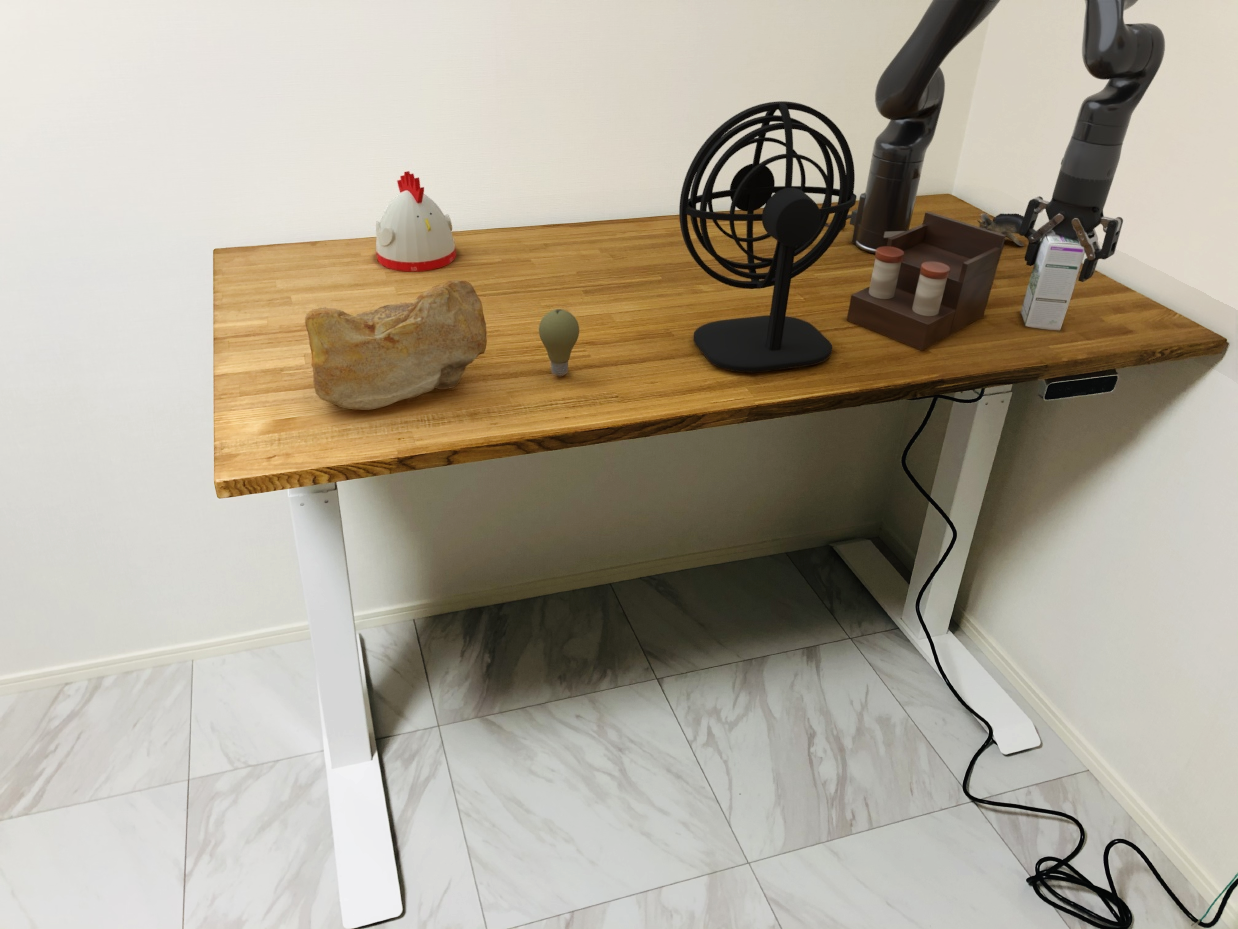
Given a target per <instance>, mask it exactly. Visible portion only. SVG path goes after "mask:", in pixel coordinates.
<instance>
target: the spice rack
mask: <svg viewBox="0 0 1238 929" xmlns="http://www.w3.org/2000/svg"><path fill="white" fill-rule="evenodd" d="M1006 238H1007V237H1006V235H1003V234H1000V233H997V232H994V231H990V230H987V229H984V228H980V226H977V225H973V224H970V223H967V222H963V221H961V220H958V219H954V218H951V217H947V216H944V215H942V214H938V213H934V212H931V211H925V212H924V215H923V220H922V224H920V225H917V226H915V227H912V228H909V230H907V231H905V232H902V233H900V234H897V235H895V236H892V237H890V238H888V243H887V246H883V247H879V248H877V249H876V254H874V255H875V256H874V264H873V268H872V269H873V270H872V274H871V279H870V283H869V286H867V287H865V288H862V289H861V290H859V291H856V292H854V293H852V294H851V295H850V301H849V305H848V310H847V311H848V312H847V317H846V321H848V322H850V323H853V324H855V325H858V326H859V327H863V328H864V329H867V330H870V331H872V332H874V333H877V334H879V335H882V336H885V337H887V338H889V339H892V340H894V341H897V342H899V343H902V344H905V345H906V346H909V347H912V348H915V349H917V350H919V351H925V350H926V349H928V348H930V347H932V346H933V345H935V344H937V343H939V342H941V341H942V340H944V339H946V338H948V337H950V336H951V335H953V334H955V333H957V332H959V331H960V330H963V329H964V328H967V326H969V325H972V324H973V323H975V322H977V321H979V320H980V319H982V318H984V317H985V313H986V309H987V306H988V303H989V298H990V294H991V292H992V287H993V284H994V280H995V277H996V273H997V270H998V266H999V263H1000V259H1001V256H1002V252H1003V248H1004V245H1005V241H1006Z"/></svg>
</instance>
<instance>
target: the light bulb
mask: <svg viewBox="0 0 1238 929" xmlns="http://www.w3.org/2000/svg"><path fill="white" fill-rule="evenodd" d="M538 335H539V338H540V340H541V342H542V345H543V346H544V348H545V350H546V352H547V356H548V359H549V361H550V372H551V373H552V374H553V375H555V376H556V377H557V378H561V377H564V376H565V375H566V374H567V373H568V372H569V361H570V358H571V354H572V350H573V348H574V347H575V345H576V344H577V341H578V338H579V337H580V325H579V322H578V320H577V318H576V317H575V315H573V314H572V313H571V311H568V310H565V309H561V308H556V309H551V310H550V311H548V312H546V314H544V315H543V316H542V318H541V319H540V322H539V325H538Z"/></svg>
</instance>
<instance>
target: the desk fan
mask: <svg viewBox="0 0 1238 929" xmlns="http://www.w3.org/2000/svg"><path fill="white" fill-rule="evenodd" d="M777 111H779V113H780V115H779V114H775V113H776V112H777ZM790 111H798V112H801V113H805V114H808V115H811V116H813V117H815V118H816V119H818V120H819V121H820V122H822V123H823V124H824V125H825V126H826V127H827V128H828V129H829V130H830V132H831V133H832V134H833V135H834V137H835V139H836V141H837V143H838V145H839V147H840V150H841V153H842V156H841V154H840V152H839V150H838V149H837V148H836V146H835V144H834V143H833V142H832V141H831V140H830V139H829V138H828V137H827V136H826V135H824V134H823V133H821V132H819V130H817V129H815V128H813V127H810V126H809V125H807V124H806V123H804V122H802V121H800V120H799V119H796V118H794V117H791V114H790ZM763 113H765V114H764V115H761V116H757V115H760V114H763ZM754 116H757V117H754ZM753 117H754V118H753ZM750 118H751V119H750ZM747 119H748V120H747ZM745 120H746V121H745ZM760 124H761V125H760ZM758 125H760V127H758V128H755V129H753V130H751V131H749V132H748V133H746V134H744V135H743V136H742V137H740V138H739V139H737V140H736V141H734V143H733V144H731V145H730V146H729V147H728V148H727V149H726V150H725V151H724V153H722V155H721V156H720V157H719V159H717V161H716V163H715V165H714V166H713V167H712V169H711V171H710V173H709V175H708V177H707V179H706V181H705V184H704V187H703V190H702V192H701V193H702V194H698V193H699V188H700V184H701V182H702V179H703V176H704V174H705V172H706V170H707V168H708V166H709V164H710V163H711V161H712V160H713V159H714V157H715V156H716V154H717V153H718V152H719V151H720V149H721V148H722V147H723V146H724V145H725V144H726V143H727V142H729V141H730V140H731V139H732V138H734V137H735V136H736V135H738V134H740V133H741V132H743V131H745V130H747V129H749V128H751V127H755V126H758ZM779 130H784V140H785V142H784V141H783V140H780V139H778V138H774V137H767V133H770V132H774V131H779ZM793 130H796V131H797V130H798V131H802V132H805V133H808V134H809V135H810V136H811V137H812V138H813V139H814V141H815V142H816V143H817V145H818V148H819V149H820V151H821V153H822V156H823V159H824V162H825V168H826V169H825V170H826V171H825V170H824V169H823V168H822V166H821V165H820V164H818V162H816V161H815V160H813V159H811V158H810V157H808V156H806V155H803V154H800V153H799V154H798V152H797V151H796V150H795V149H794V132H793ZM764 143H774V144H778V145H781V146H783V147H785V153H781V154H777V155H773V156H771V157H769V158H766V159H764V160H763V161H761V156H762V152H763V148H764ZM753 144H756V145H755V149H754V153H753V160H752V163H748V164H746V165H744V166H743V167H742V168H740V169H739V170H738V171H737V172H736V173H735V175H733V178H732V179H731V182H730V186H729V189H724V190H718V191H714V188H715V183H716V181H717V178H718V176H719V174H720V172H721V170H722V169H723V167H724V166H725V165H726V163H727V162H728V161H729V160H730V159H731V157H733V156H734V155H735V154H737V153H738V152H739V151H740V150H742V149H744V148H746V147H749V146H750V145H753ZM831 155H832V156H831ZM832 157H833V159H834V161H835V165H836V168H837V172H838V176H839V177H838V178H839V179H838V180H839V188H835V187H834V186H835V185H834V184H835V172H834V170H835V169H834V164H833V159H832ZM842 157H843V158H842ZM794 159H795V160H796V163H797V165H798V168H799V173H800V185H793V177H794V176H793V173H794ZM781 160H785V176H784V177H785V178H784V185H776V183H775V182H776V181H775V176H774V174H773V172H772V170H771V168H770V167H769V166H768V165H771V163H774V162H777V161H781ZM843 160H844V161H843ZM803 161H806V162H807V163H810V164H811V165H812V166H814V167H815V168H816V169H817V171H818V172H819V174H820V175H821V177H822V179H823V182H824V184H825V187H824V186H811V185H810V186H809V185H807V186H806V184H807V183H806V180H807V179H806V171H805V170H806V169H805V167H804V162H803ZM855 175H856V174H855V163H854V158H853V155H852V151H851V147H850V145H849V143H848V141H847V138H846V136H845V135H844V133H843V132H842V131H841V129H840V128H839V127H838V126H837V124H836V123H835V122H834V121H832V120H831V118H829V117H828V116H827V115H826V114H824V113H822V112H821V111H819V110H817V109H815V108H813V107H811V106H809V105H806V104H803V103H800V102H794V101H786V100H785V101H782V100H781V101H780V100H779V101H770V102H765V103H760V104H756V105H754V106H751V107H748V108H746V109H744V110H741V111H740V112H738V113H736V114H735V115H733V116H731V117H729V118H728V119H727V120H726V121H725V122H723V123H722V124H721V125H719V126H718V127H717V128H716V129H715V130H714V131H713V132H712V133H711V134H710V135H709V136H708V137H707V138H706V140H705V141H704V143H703V144H702V145H701V146H700V148H699V149H698V151H697V152H696V153H695V155H694V157H693V159H692V161H691V163H690V165H689V167H688V169H687V172H686V175H685V177H684V179H683V183H682V187H681V192H680V198H679V206H678V207H679V208H678V209H679V211H678V216H679V224H680V225H679V226H680V231H681V236H682V239H683V242H684V244H685V247H686V249H687V250H688V253H689V255H690V256H691V258H692V259H693V260H694V261H695V263H696V264H697V265H698V266H699V267H700V268H701V269H702V270H703V271H704V272H705V273H706V274H707V275H708V276H710V277H711V278H713V279H714V280H716V281H717V282H720V283H721V284H723V285H726V286H730V287H733V288H737V289H744V290H745V289H746V290H760V289H766V288H770V287H773V290H772V298H771V304H770V313H769V315H757V316H749V317H739V318H731V319H722V320H721V319H720V320H715V321H711V322H707V323H705V324H703V325H700V326H699V327H697V328H696V329H695V331H694V332H693V343H694V344H695V346H696V347H697V348H698V349H699V350H700V352H701V353H702V354H703V355H704V358H706V359H707V361H708V362H710V364H712V365H714V366H715V367H717V368H720V369H724V370H727V371H731V372H736V373H737V372H739V373H763V372H771V371H780V370H786V369H795V368H802V367H808V366H815V365H817V364H820V363H823V362H825V361H827V360H829V358H830V357H831V355H832V352H833V345H832V342H831V341H830V340H829V339H828V338H827V337H826V336H824V334H822V332H820V331H819V330H818V329H817V328H816V327H815V326H814V325H812V324H811V323H810V322H808V321H806V320H804V319H801V318H798V317H793V316H788V315H787V310H788V302H789V295H790V289H791V283H792V282H791V281H792V279H794V278H796V277H797V276H799V275H800V274H802V273H804V272H805V271H806V270H808V269H809V268H810V267H812V266H813V265H814V264H815V263H816V262H817V261H818V260H820V259H821V257H823V255H824V254H825V253H826V252H827V251H828V250H829V248H830V247H831V246H832V244H833V243H834V241H835V240H836V238H837V237H838V236H839V234H840V232H841V231H842V229H841V228H842V227H843V225H844V222H845V220H846V218H847V215H849V212H850V209H851V208H853V207H854V206H855V205H856V202H857V195H856V194H855V193H854V191H855ZM775 185H776V186H775ZM808 194H815V195H816V194H817V195H824V197H823V202H822V205H821V207H819V205H818V204H817V203H816V202H815V200H813V199H812V197H810V196H809V195H808ZM833 196H834V197H838V200H837V203H836V204H835V205H832V203H833ZM723 198H730V200H731V203H730V207H729V212H728V213H727V212H715V211H714V207H713V200H716V199H723ZM697 204H699V209H697ZM762 207H763V210H762V212H761V213H755V211H757V210H759V209H761V208H762ZM736 209H738V210H739V211H742V212H746V213H736ZM831 214H833V217H832V219H831V221H830V223H829V224H828V225H829V227H827V229H826V231H825V232H824V234H823V235H822V236H821V238H820V239H819V240H818V242H817V243H816V244H815V245H814V246H813V247H812V248H811V249H810V250H809V251H808V252H807V253H806V254H804V255H803V256H802V257H800V258H799V259H798V260H796V261H795V262H794V260H795V257H797V256H799V255H800V254H802V253H803V252H804V251H806V250H807V249H808V248H809V247H810V246H812V244H813V243H814V242H816V240H817V239H818V237H819V236H820V235H821V234H822V231H823V230H824V228H825V227H826V226H825V224H827V222H828V219H829V216H830V215H831ZM688 216H689V218H690V222H691V226H692V230H693V232H694V235H695V236H696V239H697V240H698V242H699V243H700V246H702V248H703V249H704V250H705V251H706V252H707V253H708V254H709V255H710V256H711V257H712V258H713V259H714V260H715V261H716V262H717V263H718V264H719V265H720V266H721V267H723V268H724V270H726V271H728V272H729V273H731V274H732V275H735V276H738V277H740V278H744V279H748V280H741V279H740V280H739V279H734V278H730V277H727V276H725V275H722V274H720V273H718V272H717V271H715V270H714V269H712V268H711V267H709V266H708V265H707V264H706V263H705V261H704V260H703V259H702V257H700V255H699V254H698V251H697V249H696V248H695V245H694V243H693V240H692V238H691V234H690V230H689V222H688ZM698 219H699V220H698ZM707 220H711V221H712V222H713V224H714V226H715V227H716V228H717V229H718V230H719V231H720V232H721V233H722V234H723V235H725V236H726V237H727V238H729V239H731V240H734V243H735V245H736V246H737V247H738V248H739V250H741V252H743V253H744V254H745V255H746V260H747V262H738V261H733V260H731V259H727V258H725V257H723V256H721V255H719V254H718V253H717V251H716V249H715V248H714V245H713V244H712V241H711V239H710V236H709V231H708V224H707ZM698 221H699V222H698ZM718 221H723V222H724V221H725V222H729V229H730V233H729V232H727V231H726V230H725V229H724V228H723V227H722V226H721V225H720V223H719V222H718ZM846 221H847V220H846ZM735 222H746V237H740V236H738V235H737V232H736V226H735ZM754 222H761V223H762V226H763V229H764V231H765V232H766V233H765V234H762V235H759V236H755V237H754ZM771 237H772V238H773V239H774V240H775V241H776V245H775V249H774V252H773V257H764V256H763V257H762V256H759V255H756V254H755V253H754V243H755V242H756V243H757V242H760V241H764V240H767V239H770V238H771ZM742 243H746V248H745V247H744V246H743V244H742ZM755 261H757V262H755ZM766 268H769V269H768V271H767V272H757V270H760V269H766ZM745 270H746V271H745Z"/></svg>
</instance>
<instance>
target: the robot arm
mask: <svg viewBox="0 0 1238 929" xmlns="http://www.w3.org/2000/svg"><path fill="white" fill-rule="evenodd" d="M1138 1H1139V0H1084V3H1085V10H1084V18H1083V31H1082V41H1081V58H1082V62H1083V65H1084V67H1085V69H1086V71H1087V73H1088V74H1090V76H1091V77H1093V78H1095V79H1097V80H1103V81H1104V80H1106V81H1107V82H1106V84H1105V86H1104V87H1103V89H1101V90H1100V91H1097V92H1096V93H1093V94H1091V95H1089V96H1087V97H1086V98H1084V99H1083V101H1082V103H1081V104H1080V107H1079V110H1078V112H1077V117H1076V120H1075V124H1074V126H1073V130H1072V133H1071V134H1072V135H1071V137H1070V139H1069V141H1068V144H1067V147H1066V148H1065V151H1064V154H1063V157H1062V159H1061V162H1060V168H1059V171H1058V174H1057V179H1056V181H1055V185H1054V188H1053V192H1052V196H1051V199H1050V201H1048V200H1044V198H1043V197H1042V196H1040V195H1039V196H1037V197H1034V198H1032V199H1030V200H1028V203H1027V206H1026V209H1025V211H1024V215H1023V217H1024V218H1023V220H1022V223H1021V226H1020V229H1019V234H1018V235H1019V236H1021V237H1024V238H1026V240H1027V241H1028V244H1027V247H1026V250H1025V254H1024V261H1025V265H1026V266H1028V267H1032V266H1034V263H1035V260H1036V256H1037V253H1038V249H1039V246H1040V243H1041V239H1042V236H1044V235H1045V234H1047V233H1048V232H1050V231H1054V232H1055V234H1057V235H1065V236H1067V237H1069V238H1071V239H1074V240H1075V239H1079V242H1080V244H1081V246H1082V247H1083V248H1084V251H1085V256H1086V258H1084V259H1083V260H1084V261H1083V262H1082V263H1083V264H1082V265H1081V268H1080V271H1079V274H1078V277H1077V281H1078V282H1081V283H1084V282H1086V281H1087V280H1090V279H1091V278H1092V277H1093V275H1094V274H1095V271H1096V268H1097V265H1098V262H1099V261H1100V260H1107V259H1109V258H1110V257H1112V256H1113V255H1115V252H1116V249H1117V246H1118V243H1119V242H1118V241H1119V238H1120V234H1121V231H1122V227H1123V223H1124V219H1123V218H1122V217H1121V216H1117V217H1115V218H1114V217H1109V216H1105V215H1104V208H1105V205H1106V203H1107V200H1108V196H1109V193H1110V190H1111V187H1112V184H1113V181H1114V178H1115V175H1116V172H1117V169H1118V165H1119V163H1120V162H1119V161H1120V160H1121V154H1122V149H1123V144H1124V141H1125V138H1126V135H1127V132H1128V128H1129V126H1130V122H1131V119H1132V115H1133V114H1134V112H1135V110H1136V108H1137V107H1138V106H1139V104H1140V102H1141V101H1142V99H1143V98H1144V96H1145V94H1146V92H1147V91H1148V89H1149V87H1150V86H1151V84H1152V82H1153V80H1154V79H1155V77H1156V75H1157V73H1158V72H1159V70H1160V68H1161V65H1162V63H1163V60H1164V57H1165V51H1166V40H1165V35H1164V33H1163V30H1162V29H1161V28H1160V27H1159V26H1158V25H1156V24H1154V23H1149V22H1141V23H1138V22H1137V23H1125V19H1124V12H1125V11H1126V10H1128V9H1130V8H1131V7H1133V6H1134V5H1136V3H1138ZM1000 2H1001V0H931V2H930V3H929V6H928V7H927V8H926V10H925V12H924V14H923V16H922V17H921V19H920V21H919V22H918V24H917V25H916V27H915V28H914V29H913V31H912V33H911V34H910V36H909V37H908V39H907V40H906V41H905V43H904V44H902V46H901V48H900V49H899V50H898V52H897V53H896V54H895V56H894V57H893V58H892V60H891V61H890V62H889V64H888V65H887V66H886V68H885V69H884V71H883V72H882V74H881V75H880V77H879V78H878V81H877V83H876V86H875V91H874V103H875V107H876V109H877V112H878V113H879V115H880V116H882V118H885V119H887V120H889V122H888V124H887V125H886V126H885V128H884V129H883V130H882V132H880V133H879V134H878V135H877V137H876V138H875V140H874V143H873V148H872V154H871V158H870V164H869V171H868V176H867V181H866V185H865V192H863V193H861V194H860V195H859V199H858V204H857V209H854V210H852V211H851V214H848V215H847V218H846V220H845V222H844V225H843V227H842V228H841V230H843V229H845V228H846V225H847V220H849V225H851V226H853V232H852V237H851V244H854V245H855V246H856V247H857V248H858V249H860V250H862V251H864V252H866V253H871V254H874V255H875V254H876V249H877V248H879V247H883V246H887V243H888V238H890V237H892V236H895V235H897V234H900V233H902V232H905V231H907V230H910V227H911V223H912V218H913V213H914V209H915V204H916V200H917V195H918V190H919V186H920V180H921V178H922V172H923V167H924V163H925V158H926V153H927V150H928V148H929V147H930V145H931V144H932V142H933V139H934V137H935V134H936V130H937V126H938V122H939V119H940V115H941V111H942V107H943V103H944V99H945V92H946V80H945V74H944V72H943V70H942V68H941V67H940V66H941V65H942V64H943V62H944V61H945V59H946V58H947V57H949V55H950V54H951V52H952V51H953V50H954V49H955V48H956V47H958V45H959V44H960V43H961V42H963V40H965V39H966V38H967V37H968V36H969V35H970V34H971V33H972V32H974V30H975V29H977V28H978V27H979V26H980V25H981V24H982V23H983V22H984V21H985V20H986V19H987V18H988V16H989V15H991V13H992V12H993V11H994V10H995V9H996V7H997V6H998V5H999V3H1000ZM1044 210H1045V213H1046V216H1047V219H1048V221H1047V222H1046V223H1044V224H1043V225H1042V226H1041V227H1039V228H1038V229H1037V230H1036V229H1035V225H1036V222H1037V219H1038V217H1039V214H1041V213H1043V212H1044ZM829 225H830V224H828V223H826V224H825V226H824V227H827V228H828V227H829ZM1100 225H1102V231H1103V232H1104V233H1105V234H1104V238H1103V242H1102V245H1101V246H1100V244H1099V237H1098V234H1097V232H1096V228H1098V227H1099V226H1100Z"/></svg>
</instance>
